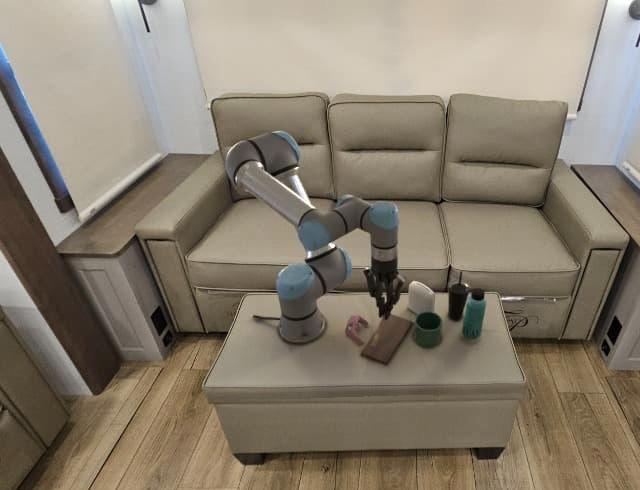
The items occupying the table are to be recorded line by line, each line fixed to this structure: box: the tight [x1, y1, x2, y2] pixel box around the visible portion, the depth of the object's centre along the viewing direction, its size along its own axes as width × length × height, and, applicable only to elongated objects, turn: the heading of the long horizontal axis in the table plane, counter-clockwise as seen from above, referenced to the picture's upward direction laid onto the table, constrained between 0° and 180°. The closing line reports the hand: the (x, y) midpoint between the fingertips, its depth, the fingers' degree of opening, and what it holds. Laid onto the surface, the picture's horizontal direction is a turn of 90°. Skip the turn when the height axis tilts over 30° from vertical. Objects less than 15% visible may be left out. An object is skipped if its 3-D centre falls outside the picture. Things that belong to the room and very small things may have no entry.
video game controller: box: [344, 313, 369, 345], centre depth 142 cm, size 10×5×7 cm, turn 168°
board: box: [360, 313, 413, 365], centre depth 142 cm, size 9×20×1 cm, turn 155°
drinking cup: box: [447, 270, 472, 321], centre depth 145 cm, size 8×8×20 cm
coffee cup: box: [413, 311, 443, 348], centre depth 140 cm, size 9×9×8 cm
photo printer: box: [407, 280, 436, 316], centre depth 149 cm, size 10×4×12 cm, turn 46°
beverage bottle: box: [461, 287, 487, 341], centre depth 138 cm, size 6×7×20 cm
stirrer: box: [371, 311, 386, 347], centre depth 132 cm, size 1×13×13 cm
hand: (384, 315), depth 132 cm, fingers closed on stirrer
